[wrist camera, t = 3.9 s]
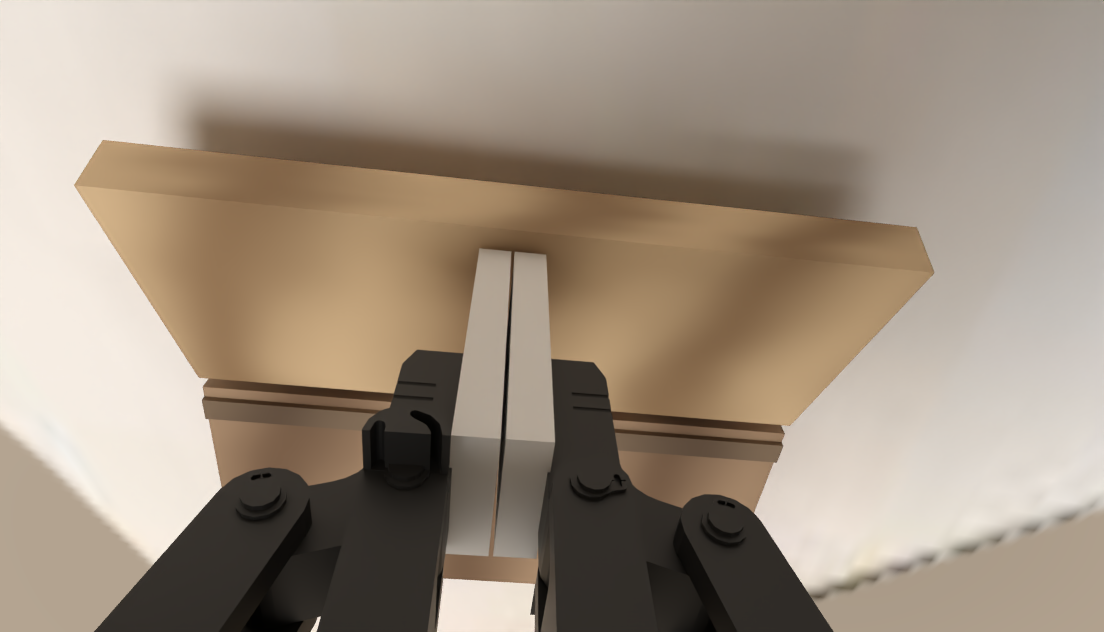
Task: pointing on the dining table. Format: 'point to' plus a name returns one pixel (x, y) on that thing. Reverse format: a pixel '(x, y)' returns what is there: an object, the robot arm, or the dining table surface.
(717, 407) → the oak plank
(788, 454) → the dining table surface
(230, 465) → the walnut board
